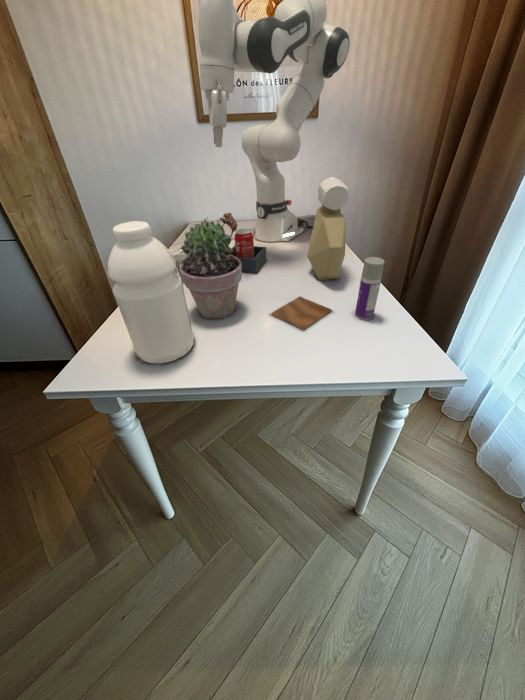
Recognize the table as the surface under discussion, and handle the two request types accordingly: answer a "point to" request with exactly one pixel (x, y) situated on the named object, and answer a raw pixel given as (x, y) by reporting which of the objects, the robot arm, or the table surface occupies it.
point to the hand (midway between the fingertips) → (217, 145)
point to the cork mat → (301, 312)
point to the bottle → (149, 294)
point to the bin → (252, 260)
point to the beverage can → (244, 243)
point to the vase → (329, 230)
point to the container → (369, 287)
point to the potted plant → (211, 267)
